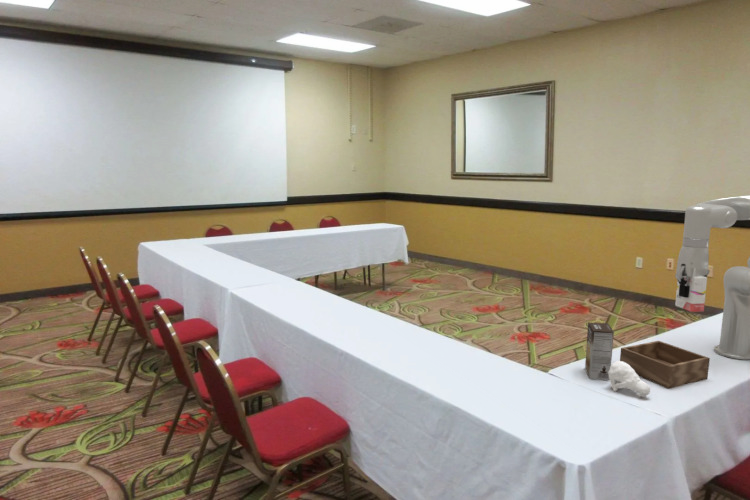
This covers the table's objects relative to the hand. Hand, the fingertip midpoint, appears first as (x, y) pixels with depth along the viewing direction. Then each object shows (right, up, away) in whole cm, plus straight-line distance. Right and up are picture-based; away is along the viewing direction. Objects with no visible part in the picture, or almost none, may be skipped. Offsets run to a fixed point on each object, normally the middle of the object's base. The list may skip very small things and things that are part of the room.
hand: (690, 295), depth 181 cm
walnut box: (-14, -25, -8) cm, 29 cm away
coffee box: (-35, -25, -9) cm, 44 cm away
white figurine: (-31, -27, -22) cm, 47 cm away
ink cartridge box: (0, -5, +1) cm, 5 cm away
